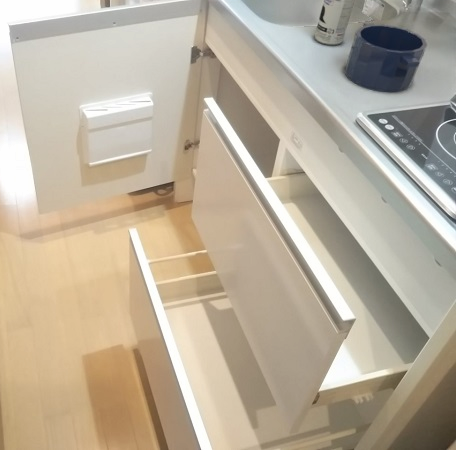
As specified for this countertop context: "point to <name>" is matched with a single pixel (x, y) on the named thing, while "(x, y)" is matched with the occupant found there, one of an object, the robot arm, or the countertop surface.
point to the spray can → (333, 21)
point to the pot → (384, 57)
